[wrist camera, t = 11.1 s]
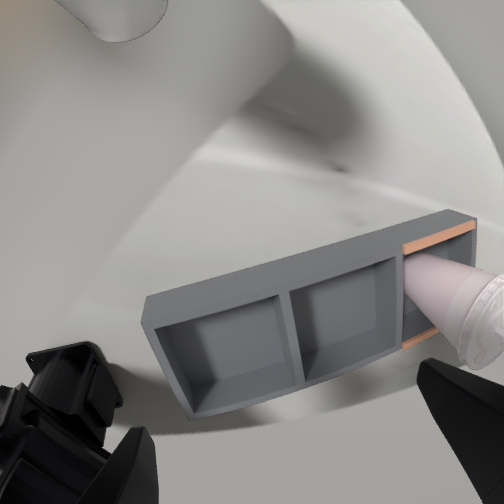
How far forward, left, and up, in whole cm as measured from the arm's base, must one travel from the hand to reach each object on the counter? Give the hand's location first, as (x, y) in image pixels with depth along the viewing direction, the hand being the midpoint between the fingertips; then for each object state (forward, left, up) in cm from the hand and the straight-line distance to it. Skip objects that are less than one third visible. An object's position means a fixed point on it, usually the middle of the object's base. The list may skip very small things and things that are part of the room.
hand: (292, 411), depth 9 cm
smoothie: (+14, -5, -13) cm, 20 cm away
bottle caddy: (+6, -5, -13) cm, 15 cm away
